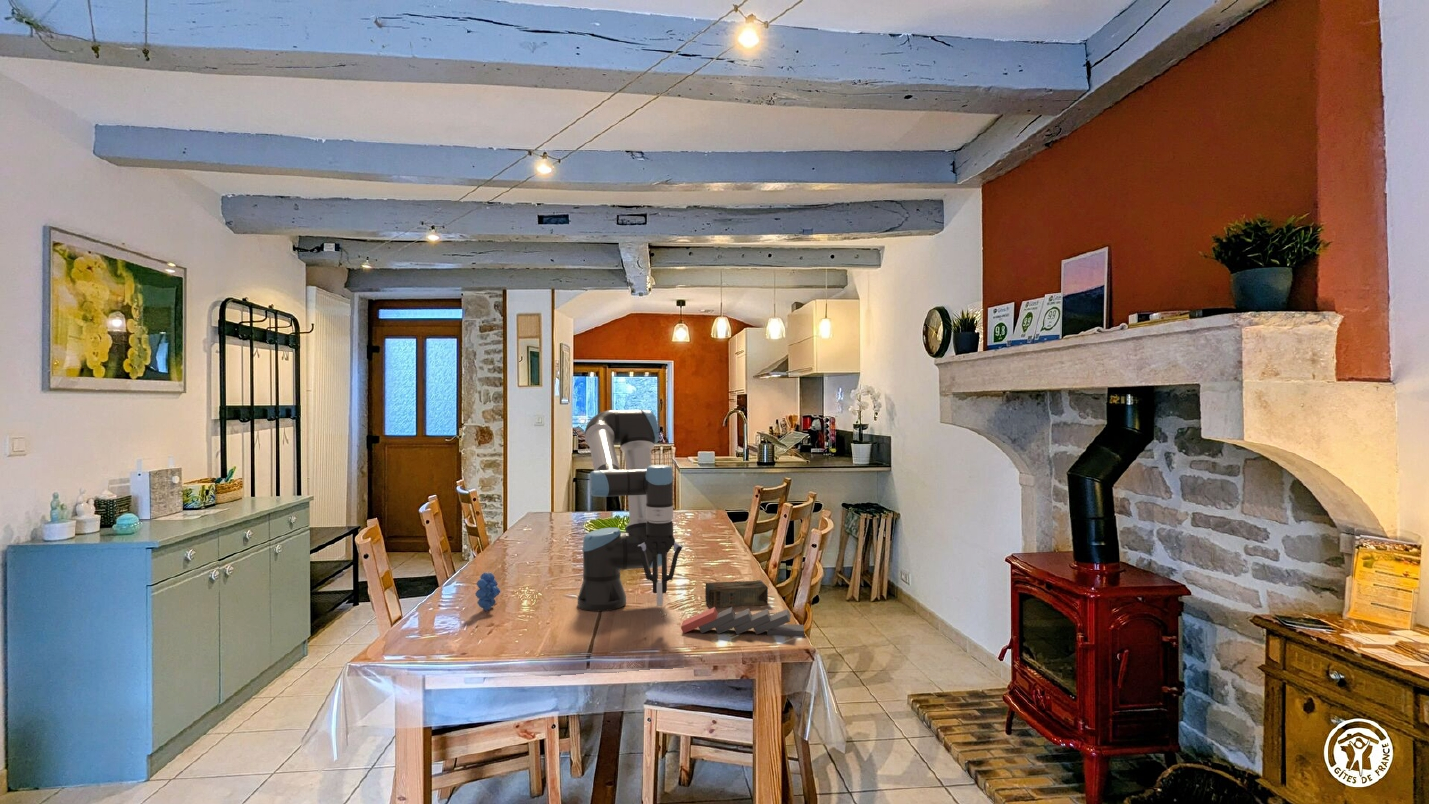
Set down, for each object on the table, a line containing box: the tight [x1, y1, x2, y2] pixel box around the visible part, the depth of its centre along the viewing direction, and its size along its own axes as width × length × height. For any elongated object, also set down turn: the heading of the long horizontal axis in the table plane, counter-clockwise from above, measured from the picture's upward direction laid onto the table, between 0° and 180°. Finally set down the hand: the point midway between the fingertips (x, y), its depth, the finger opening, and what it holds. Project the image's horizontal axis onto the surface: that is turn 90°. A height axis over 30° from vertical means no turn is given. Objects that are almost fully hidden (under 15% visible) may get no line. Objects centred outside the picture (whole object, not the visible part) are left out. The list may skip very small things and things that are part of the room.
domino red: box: [680, 607, 719, 634], centre depth 191 cm, size 2×5×10 cm
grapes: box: [475, 572, 501, 612], centre depth 210 cm, size 12×7×12 cm, turn 173°
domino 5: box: [766, 623, 805, 637], centre depth 189 cm, size 2×5×10 cm
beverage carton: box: [704, 579, 769, 609], centre depth 217 cm, size 8×19×7 cm, turn 102°
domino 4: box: [753, 608, 792, 635], centre depth 189 cm, size 2×5×10 cm
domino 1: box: [698, 607, 736, 635], centre depth 191 cm, size 2×5×10 cm
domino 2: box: [714, 608, 753, 635], centre depth 190 cm, size 2×5×10 cm
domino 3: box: [733, 608, 772, 636], centre depth 190 cm, size 2×5×10 cm
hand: (659, 604), depth 192 cm, fingers closed
